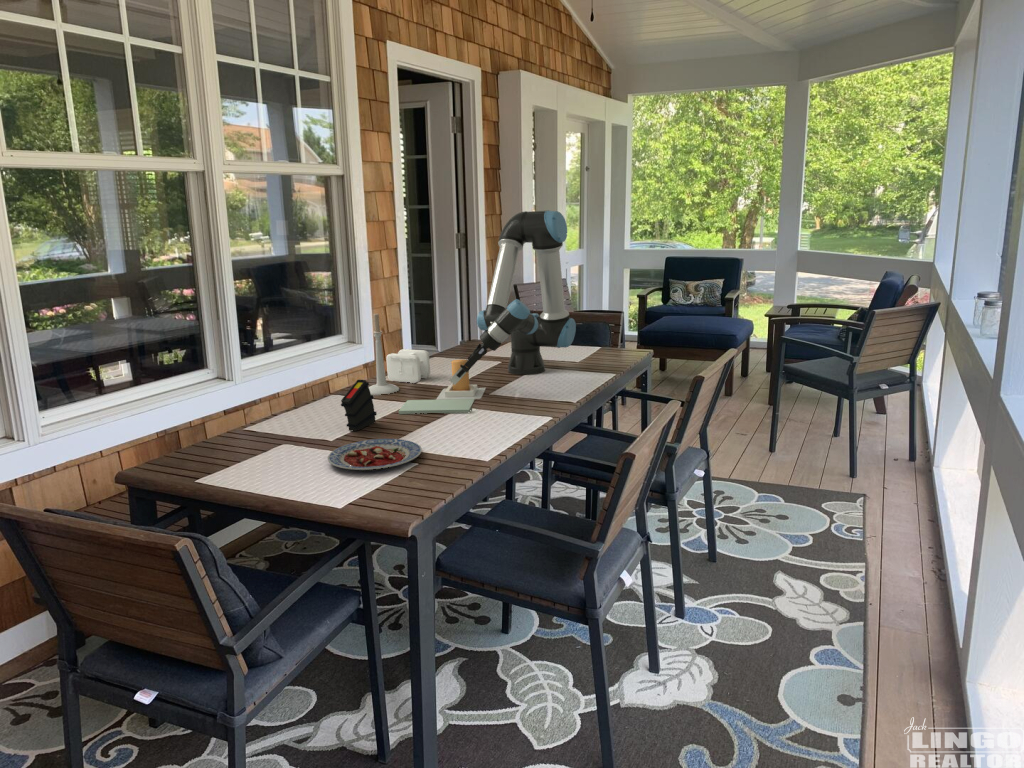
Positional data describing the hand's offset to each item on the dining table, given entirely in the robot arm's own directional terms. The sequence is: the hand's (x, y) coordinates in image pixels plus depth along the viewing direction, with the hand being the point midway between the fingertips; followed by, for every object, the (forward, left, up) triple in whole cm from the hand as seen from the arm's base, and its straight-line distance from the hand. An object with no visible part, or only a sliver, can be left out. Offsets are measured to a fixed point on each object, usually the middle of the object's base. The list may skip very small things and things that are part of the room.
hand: (454, 378), depth 278 cm
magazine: (+25, +38, -7) cm, 46 cm away
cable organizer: (+23, -27, -7) cm, 36 cm away
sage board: (+4, +16, -7) cm, 18 cm away
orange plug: (-2, 0, -6) cm, 6 cm away
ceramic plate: (+12, +69, -7) cm, 70 cm away
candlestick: (+30, -10, -7) cm, 32 cm away
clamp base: (-2, 0, -7) cm, 7 cm away
